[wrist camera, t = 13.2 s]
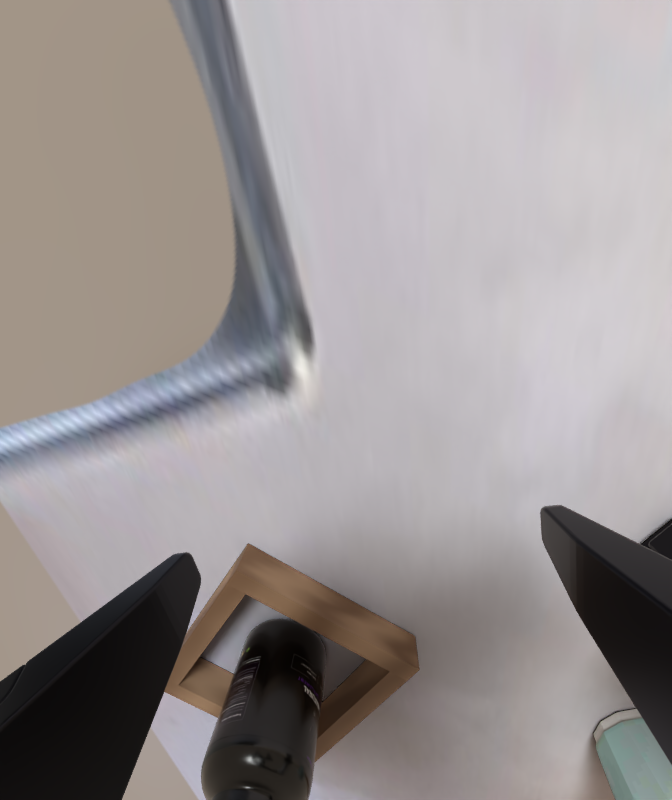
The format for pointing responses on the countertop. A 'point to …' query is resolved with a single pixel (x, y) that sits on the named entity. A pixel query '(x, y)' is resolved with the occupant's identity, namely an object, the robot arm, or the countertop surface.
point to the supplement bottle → (269, 718)
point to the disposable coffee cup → (633, 758)
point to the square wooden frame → (315, 609)
